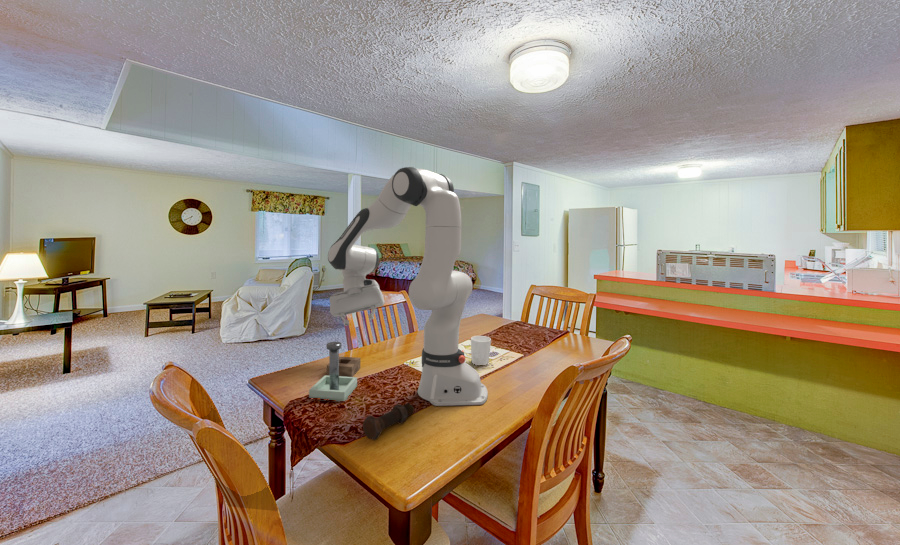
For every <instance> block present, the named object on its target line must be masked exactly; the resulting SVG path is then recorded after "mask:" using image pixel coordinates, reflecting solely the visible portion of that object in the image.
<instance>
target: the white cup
mask: <svg viewBox="0 0 900 545" xmlns="http://www.w3.org/2000/svg"><path fill="white" fill-rule="evenodd" d="M491 343H492V339H491V337H489V336H485V335H473V336H471V337H470V352H471V353H470V356H471V363H473V364H472V365H474V364H475V365H474V366H477V365H485V366H487V365H486V364H488V363H489V364H490V354H491V353H490V352H491ZM489 364H488V365H489Z"/></svg>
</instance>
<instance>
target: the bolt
mask: <svg viewBox="0 0 900 545" xmlns="http://www.w3.org/2000/svg"><path fill="white" fill-rule="evenodd" d="M414 410H415V407H414V406H413V405H412V404H411V403H409V402H407V403H406V404H399V403H398V404H396V405H394V406H393V407H392V409H391V410H390V411H388V412H387V413H386V412H385V413H384V414H382V415H381V416H378V417H375V416H373V415H368V416H366V418H365V419H364V420H363V423H362V430H363V433H364V434H365V437H366V438H367V439H370V440H373V441H375V440H378V438H379V436H380V435H381V433H382V431H383V430H385V429H387V428H389V427H390V426H392V425H394V424H396V423H397V424H403V423H404V422H406V420H407V419H408V417H410V416H411V415H413V414H414Z"/></svg>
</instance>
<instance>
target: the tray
mask: <svg viewBox="0 0 900 545" xmlns="http://www.w3.org/2000/svg"><path fill="white" fill-rule="evenodd" d="M357 387H358V377H355V376H353V377H344V376H339V390H330V376H328V375H327V374H326V375H323V376H322V377H320V379H319V380H318V381H317V382H316V383H315V384H314V385H313V386H311V388H309V390H308V399H309V398H320V399H329V400H336V401H335V402H340V401H345V400H346V401H347V399H348V398H349V397H350V396H351V394H352V393H353V392H354V391H355V389H356V388H357ZM353 390H354V391H353ZM349 395H350V396H349ZM348 396H349V397H348ZM346 401H345V402H346Z"/></svg>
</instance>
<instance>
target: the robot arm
mask: <svg viewBox="0 0 900 545" xmlns="http://www.w3.org/2000/svg"><path fill="white" fill-rule="evenodd" d="M454 187H455V186H454V184H453V182H452V180H451V179H450V178H449V177H447V176H446V175H444V174H443V173H436V172H434V171H431V170H429V169H425V168H416V167H414V166H406V167H401V168H399V169H397V171H396V172H395V173H394V174H393V175H392V176H391V177H390V178H389V179H388V181H386V183H385V185H384V186H383V187H382V190H380V193H379V194H378V197H377V198H376V199H375V201H374V202H373V203H371V204H370V205H368V206H367V207H366V208H365V207H364V208H362V209H360V210H359V212H358V213H356V215H355V217H353V219H352V220H351V222H350V223H349V224H348V226H346V228H345V230H344V231H343V233H342V234H341V235H340V236H339V238H338V239H337V240H336V241H334V242H333V244H332V245H331V246H330V248H329V250H328V253H327V261H328V264H330V266H331V267H332V268H333V269H335V270H340V271H341V273H342V274H341V275H342V276H343V278H342V284H343V285H342V287H343V290H342V291H339V292H334V293H333V294H332V295H331V296H330V297H329V304H330V306H329V314H330V315H332V316H333V317H334V318H339V317H340V318H341V320H342V321H343V325H344V326H345V327H348V326H350V320H349V319H346V317H347V316H348V315H352V314H355V313H358V312H364V311H367V310H371V311H370V313H369V314H368V319H369V320H370V321H371V320H375V314H376V311H377V308H379V307H383V306H384V305H385V303H386V302H385V297H384V295H383V292H382V290H381V289H380V284H379V283H378V282H377V281H376V280H375V279H368V278H366V277H367V275H370V274H372V272H374V271H375V270H377V269H378V267H379V266H380V265H379V264H380V256H379V254H378V252H377V249H375V248H373V247H370V246H365V245H364V246H363V245H358V244H356V242H357V241H359V240H358V239H360V237H361V236H362V235H363V234H364V233H366V232H369V231H372V230H380V229H382V230H383V229H391V228H394V227H397V226H399V224H401V223H402V221H403V220H404V219H405V218H406V215H407V213H408V212H409V210H410V208H411V207H412V206H414V207H418V206H421V207H422V208H423V210H424V211H425V212H424V213H425V231H424V232H425V235H424V253H423V256H422V261H421V262H422V263H421V265H420V268H419V271H418V273H417V275H416V277H414V278H413V280H412V281H411V282H410V284H409V287H408V298H409V300H410V302H411V304H412V305H413V307H414V308H416V309H418V310H422V311H431V313H430V315H429V317H428V319H427V320H426V321H425V323H424V326H423V348H422V349H421V350H422V351H421V367H422V368H421V369H422V370H421V376H420V381H419V384H418V389H417V395H418V396H419V397H420V398H422V399H423V400H425V401H427V402H429V403H431V405H432V406H435V407H437V406H438V407H443V406H477V405H478V406H479V405H484V404H485V403H487V402H486V401H487V400H488V397H489V395H488V389H487V388H488V387H487V386H486V385H485V384H484V383H482V382H481V377H480V374H479V372H478V371H477V370H476V369H475V368H474V367H472V366H471V365H470V364H468V363H467V362H466V357H465V356H466V355H465V351H464V349H462V350H461V349H459V341H460V340H459V336H460V325H461V321H462V317H463V313H464V310H465V306H466V303H467V301H468V299H469V297H471V295H472V293H473V289H474V288H473V286H474V285H473V281H472V279H471V277H470V276H469V275H468V274H467V273H465V272H463V271H458V270H454V266H455V263H456V261H457V259H458V258H459V257H460V255H461V252H462V212H461V210H462V209H461V204H460V203H461V202H460V199H459V196H458V195H457V194H456V193H455V192H454V191H455V188H454ZM346 315H347V316H346Z"/></svg>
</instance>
